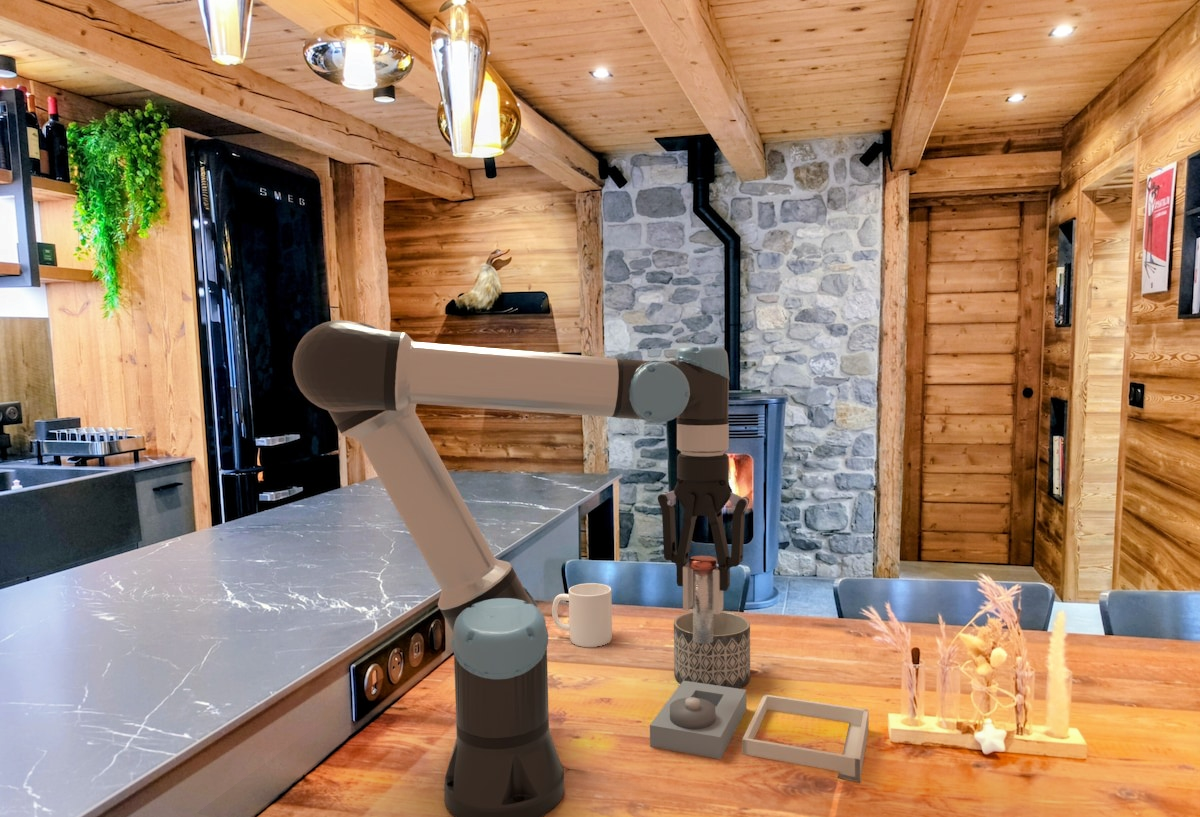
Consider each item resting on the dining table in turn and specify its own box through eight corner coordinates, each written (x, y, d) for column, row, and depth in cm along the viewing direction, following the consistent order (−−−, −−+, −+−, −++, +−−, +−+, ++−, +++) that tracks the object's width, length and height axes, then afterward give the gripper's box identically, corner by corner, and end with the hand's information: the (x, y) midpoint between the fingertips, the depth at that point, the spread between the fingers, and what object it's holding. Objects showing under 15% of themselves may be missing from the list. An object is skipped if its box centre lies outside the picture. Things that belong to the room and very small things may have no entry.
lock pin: (712, 646, 114) (712, 563, 113) (686, 642, 116) (686, 561, 115) (719, 637, 118) (719, 557, 117) (693, 633, 119) (693, 554, 118)
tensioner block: (720, 766, 105) (720, 718, 105) (650, 752, 109) (649, 706, 109) (746, 715, 120) (746, 673, 120) (683, 705, 124) (683, 664, 124)
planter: (660, 677, 135) (659, 617, 134) (720, 662, 141) (720, 605, 140) (702, 705, 124) (701, 640, 123) (766, 688, 130) (765, 626, 129)
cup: (606, 649, 148) (605, 596, 148) (546, 644, 151) (544, 593, 151) (616, 634, 156) (615, 584, 156) (559, 630, 159) (557, 581, 159)
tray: (859, 782, 101) (859, 759, 101) (742, 760, 107) (742, 739, 106) (868, 729, 115) (868, 709, 115) (764, 713, 121) (764, 694, 120)
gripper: (766, 451, 115) (765, 608, 116) (655, 447, 122) (656, 596, 123) (755, 457, 108) (755, 624, 110) (639, 453, 115) (640, 610, 116)
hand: (703, 609), depth 116 cm, fingers closed on lock pin, 4 cm apart
